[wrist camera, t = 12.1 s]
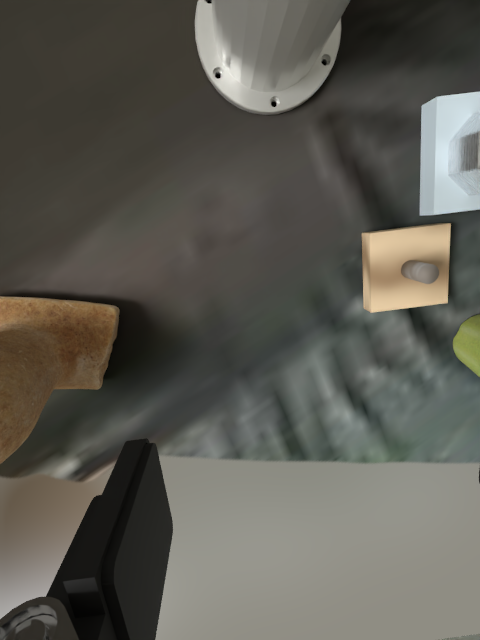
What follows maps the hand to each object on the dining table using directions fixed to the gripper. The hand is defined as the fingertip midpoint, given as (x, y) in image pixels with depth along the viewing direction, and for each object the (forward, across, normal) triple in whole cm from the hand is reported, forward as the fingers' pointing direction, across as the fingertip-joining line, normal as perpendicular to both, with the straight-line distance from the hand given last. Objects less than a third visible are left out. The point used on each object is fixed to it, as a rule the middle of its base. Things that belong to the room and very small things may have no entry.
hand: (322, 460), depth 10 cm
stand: (+28, -16, 0) cm, 33 cm away
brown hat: (+29, +22, +4) cm, 36 cm away
